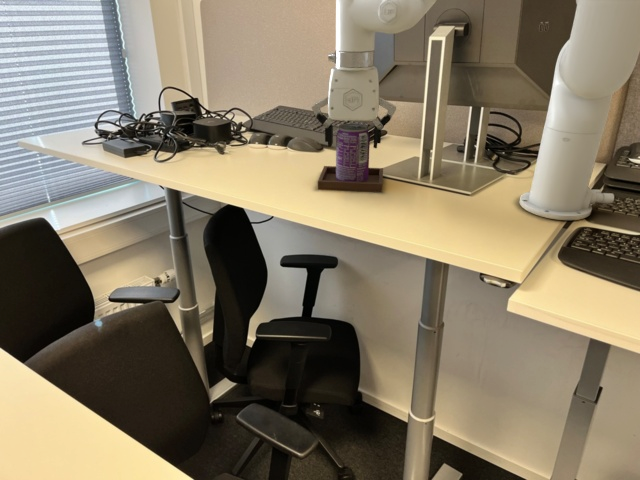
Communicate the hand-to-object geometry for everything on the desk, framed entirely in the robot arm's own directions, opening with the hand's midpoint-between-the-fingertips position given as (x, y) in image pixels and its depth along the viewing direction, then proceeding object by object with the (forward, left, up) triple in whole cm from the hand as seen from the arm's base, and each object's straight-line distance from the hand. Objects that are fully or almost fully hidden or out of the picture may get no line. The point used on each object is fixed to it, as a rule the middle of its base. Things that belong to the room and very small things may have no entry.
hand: (352, 145), depth 99 cm
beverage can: (0, 0, -8) cm, 8 cm away
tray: (0, 0, -8) cm, 8 cm away
